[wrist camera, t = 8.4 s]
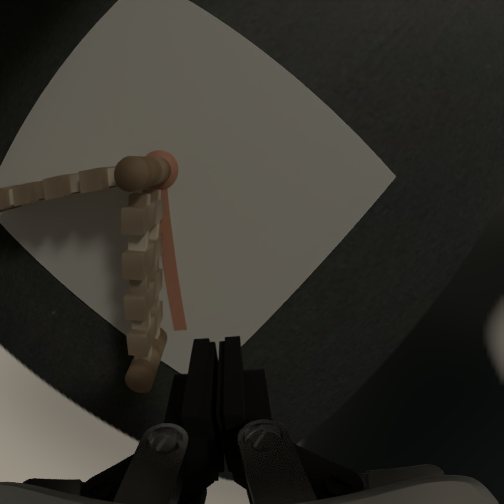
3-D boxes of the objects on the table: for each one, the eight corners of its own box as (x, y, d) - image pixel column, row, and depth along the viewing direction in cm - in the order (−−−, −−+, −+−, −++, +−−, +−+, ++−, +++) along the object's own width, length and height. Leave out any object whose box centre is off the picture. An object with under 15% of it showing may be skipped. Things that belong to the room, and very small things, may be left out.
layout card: (-16, 204, 20) (-17, 204, 20) (145, -23, 17) (144, -25, 16) (200, 384, 26) (200, 386, 26) (394, 176, 22) (396, 176, 22)
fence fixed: (13, 208, 21) (-38, 223, 15) (10, 186, 20) (-41, 197, 14) (173, 181, 21) (149, 189, 15) (170, 155, 21) (145, 153, 15)
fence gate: (143, 188, 21) (113, 197, 15) (169, 189, 21) (146, 198, 15) (145, 344, 24) (126, 390, 18) (167, 347, 24) (153, 394, 18)
